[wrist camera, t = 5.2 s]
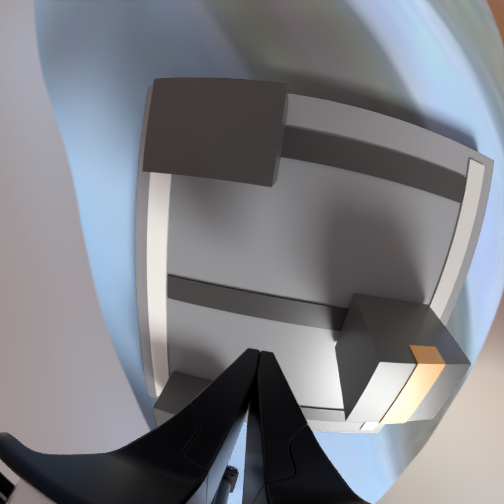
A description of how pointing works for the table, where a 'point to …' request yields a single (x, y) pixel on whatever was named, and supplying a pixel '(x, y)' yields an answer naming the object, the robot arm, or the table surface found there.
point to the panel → (287, 232)
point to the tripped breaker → (395, 361)
